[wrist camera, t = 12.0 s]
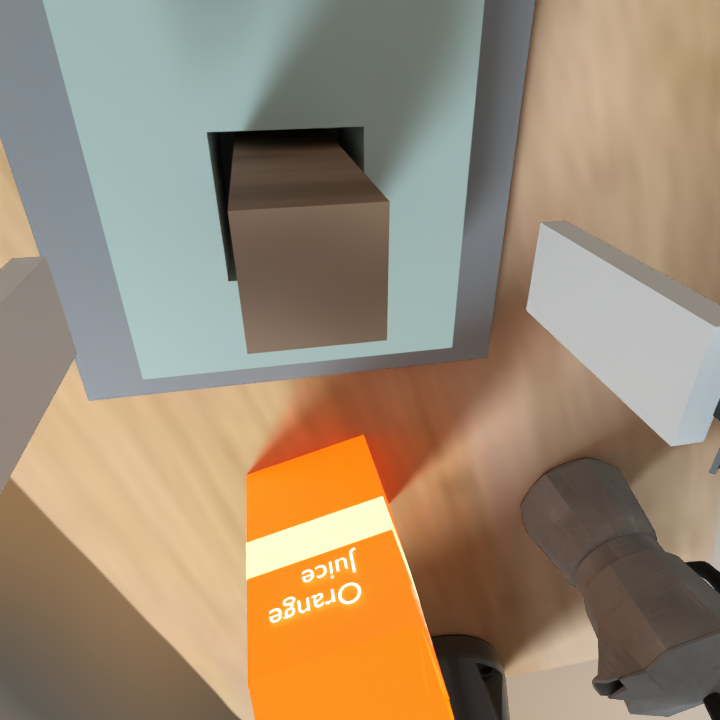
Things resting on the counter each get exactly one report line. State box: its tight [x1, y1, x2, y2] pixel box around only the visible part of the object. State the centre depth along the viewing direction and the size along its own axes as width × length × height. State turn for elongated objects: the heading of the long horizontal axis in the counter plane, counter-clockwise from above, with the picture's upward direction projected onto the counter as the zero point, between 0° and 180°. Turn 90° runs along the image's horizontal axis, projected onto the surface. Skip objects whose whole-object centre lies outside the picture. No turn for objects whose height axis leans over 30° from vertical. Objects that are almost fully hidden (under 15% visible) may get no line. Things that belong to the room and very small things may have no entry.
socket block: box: [0, 0, 535, 401], centre depth 24 cm, size 24×24×8 cm
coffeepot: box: [521, 458, 720, 720], centre depth 38 cm, size 15×9×18 cm, turn 85°
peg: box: [228, 128, 390, 354], centre depth 20 cm, size 4×4×14 cm
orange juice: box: [246, 435, 454, 720], centre depth 31 cm, size 8×9×20 cm
